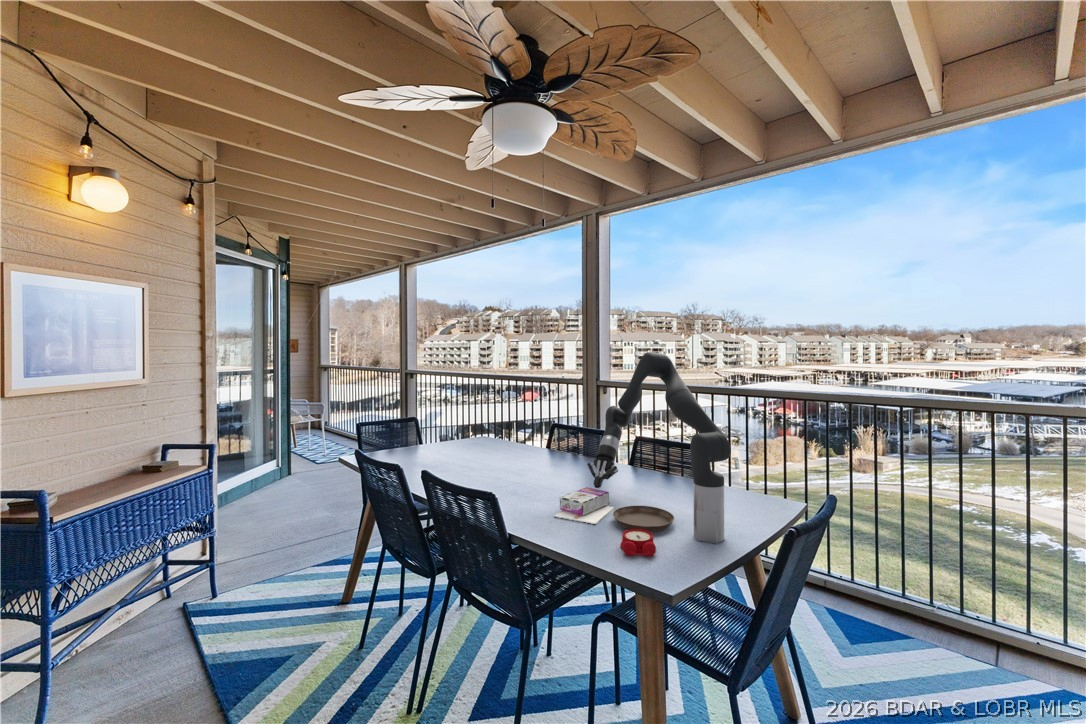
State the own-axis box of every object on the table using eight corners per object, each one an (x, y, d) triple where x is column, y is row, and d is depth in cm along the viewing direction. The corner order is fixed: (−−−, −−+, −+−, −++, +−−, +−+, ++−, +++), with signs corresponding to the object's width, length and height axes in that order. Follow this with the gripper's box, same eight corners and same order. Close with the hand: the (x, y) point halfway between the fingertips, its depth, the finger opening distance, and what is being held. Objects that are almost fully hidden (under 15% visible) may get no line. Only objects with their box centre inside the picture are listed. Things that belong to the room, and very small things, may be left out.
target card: (595, 525, 160) (595, 523, 160) (554, 517, 168) (554, 515, 168) (614, 508, 176) (614, 507, 176) (575, 502, 184) (575, 500, 184)
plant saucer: (648, 510, 175) (648, 501, 175) (687, 528, 156) (687, 519, 156) (601, 519, 166) (601, 510, 166) (637, 540, 148) (637, 530, 147)
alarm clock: (652, 528, 148) (658, 536, 133) (653, 549, 147) (659, 559, 132) (619, 527, 149) (621, 535, 134) (619, 548, 148) (622, 558, 133)
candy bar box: (587, 499, 186) (559, 510, 174) (586, 486, 186) (558, 496, 174) (610, 504, 178) (582, 516, 167) (609, 491, 178) (582, 502, 167)
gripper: (590, 442, 190) (577, 479, 180) (621, 445, 184) (610, 484, 173) (595, 452, 195) (583, 489, 185) (626, 455, 189) (615, 494, 178)
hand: (596, 487), depth 179 cm, fingers closed
